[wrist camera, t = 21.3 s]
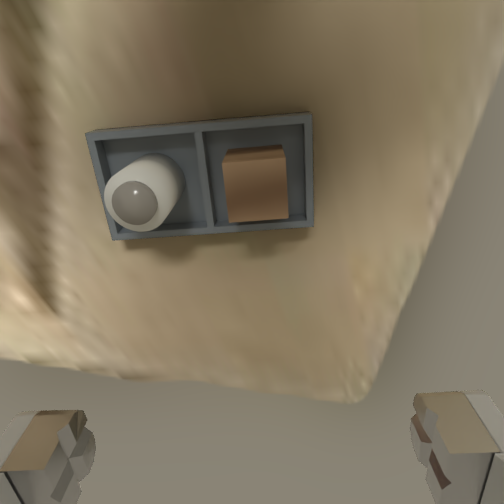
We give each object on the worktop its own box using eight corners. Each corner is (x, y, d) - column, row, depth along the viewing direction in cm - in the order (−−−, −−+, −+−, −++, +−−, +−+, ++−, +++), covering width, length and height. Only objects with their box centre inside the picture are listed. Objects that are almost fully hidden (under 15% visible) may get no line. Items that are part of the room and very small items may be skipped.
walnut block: (227, 149, 32) (221, 163, 27) (281, 144, 32) (285, 157, 27) (233, 200, 34) (229, 222, 29) (284, 196, 34) (288, 218, 29)
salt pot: (118, 176, 33) (87, 199, 28) (157, 140, 32) (131, 157, 26) (158, 217, 35) (135, 246, 29) (196, 185, 33) (179, 210, 28)
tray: (95, 129, 32) (84, 133, 30) (308, 111, 31) (312, 114, 29) (120, 231, 36) (112, 240, 34) (310, 217, 35) (313, 226, 33)
